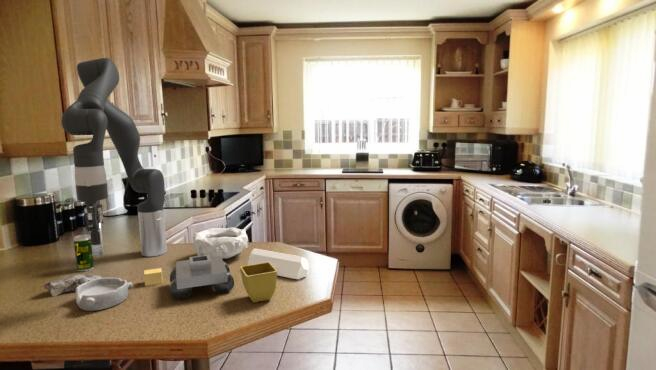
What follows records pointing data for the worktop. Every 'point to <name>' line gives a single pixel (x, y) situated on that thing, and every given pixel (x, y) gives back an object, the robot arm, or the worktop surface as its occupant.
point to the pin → (98, 249)
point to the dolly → (200, 276)
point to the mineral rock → (68, 283)
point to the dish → (102, 293)
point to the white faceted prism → (281, 263)
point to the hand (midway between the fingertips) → (97, 242)
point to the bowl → (220, 242)
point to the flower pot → (259, 281)
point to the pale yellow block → (153, 277)
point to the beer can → (83, 252)
